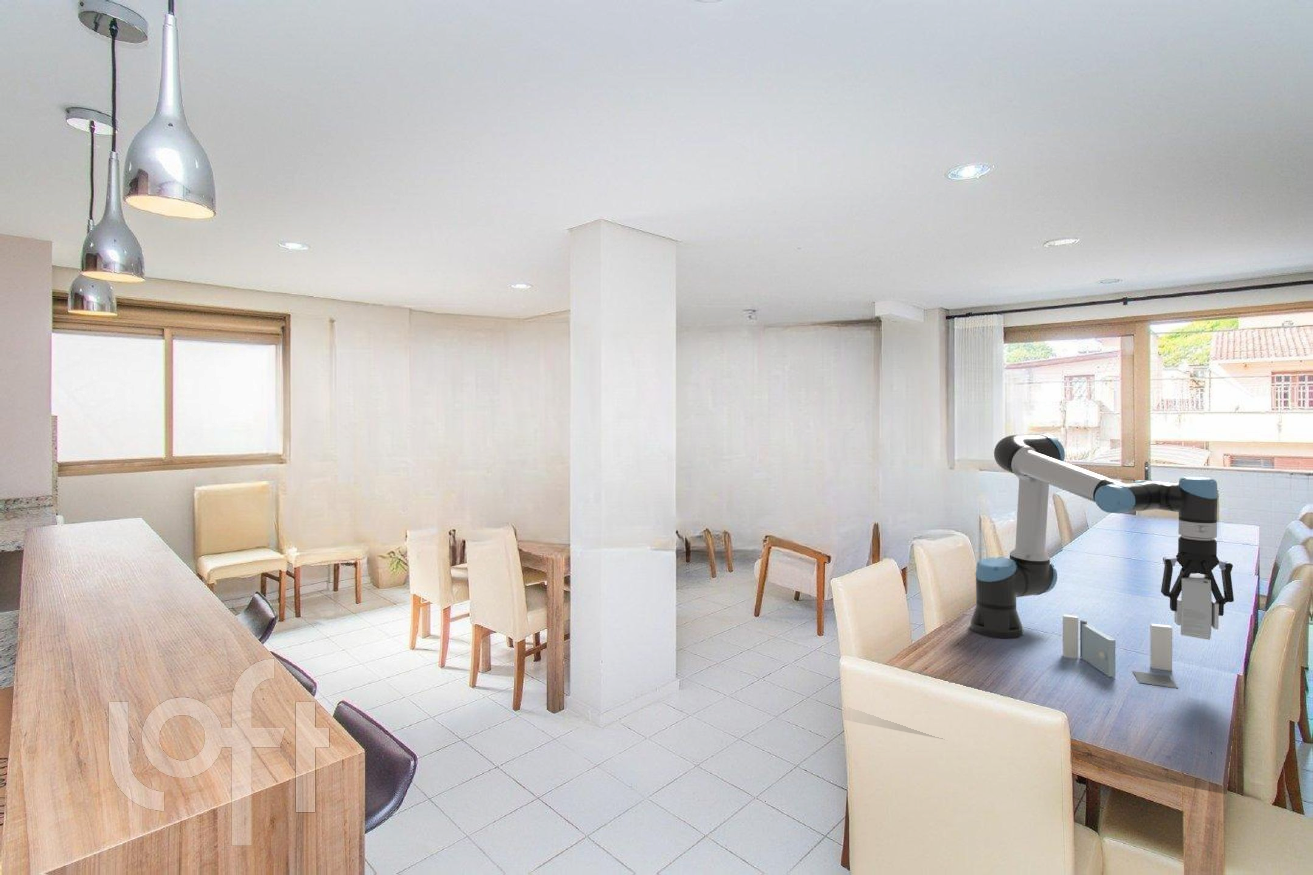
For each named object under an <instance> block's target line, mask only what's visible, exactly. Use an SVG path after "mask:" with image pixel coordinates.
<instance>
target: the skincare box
mask: <svg viewBox="0 0 1313 875" xmlns="http://www.w3.org/2000/svg"><path fill="white" fill-rule="evenodd" d="M1212 596H1213V593H1212V591H1211V580H1209V579H1208V578H1206V577H1205V575H1204V574H1199V573H1196V574H1190V576H1189V577H1188V578H1182V591H1181V598H1180V600H1181V625H1180V635H1181V636H1185V637H1190V638H1197V639H1200V640H1201V639H1203V640H1211V637H1212V626H1211V625H1212V601H1213V598H1212Z"/></svg>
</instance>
